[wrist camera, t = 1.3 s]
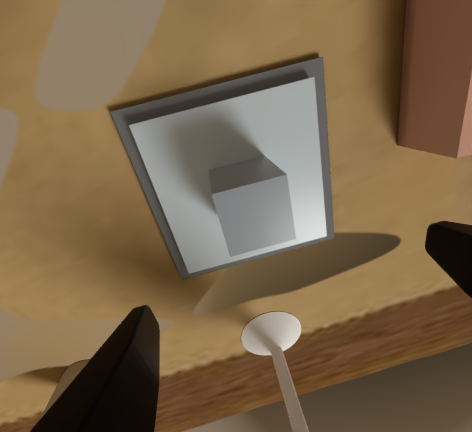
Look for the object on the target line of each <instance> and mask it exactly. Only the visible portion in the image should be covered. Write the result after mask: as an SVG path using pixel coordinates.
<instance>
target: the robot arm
mask: <svg viewBox="0 0 472 432" xmlns="http://www.w3.org/2000/svg"><path fill="white" fill-rule="evenodd" d="M425 249H426V251H427V253H428V254H429V255H430V256H431V257H432V258H433V259H434V260H435V261H436V263H437V264H438V265H439V266H440V267H441V268H442V269H443V270H444V271H445V272H446V273H447V274H448V275H449V276H450V277H451V278H452V279H453V280H454V281H455V282H456V283H457V285H458V286H459V287H460V288H461V289H462V290H463V291H464V292H465V293H466V294H468V295H469V296H470V297H471V298H472V225H467V224H461V223H454V222H448V221H440V222H437V223H433V224H431V225H429V227H428V229H427V235H426V242H425ZM159 331H160V330H159V324H158V322H157V320H156V318H155V316H154V314H153V312H152V311H151V309H150V307H149V306H148V305H143V306H140V307H136V308H134V309H133V310H132V311H131V312H130V313H129V314H128V315H127V317H126V318H125V319H124V320H123V321H122V322H121V324H120V325H119V326H118V327H117V328H116V330H115V331H114V332H113V333H112V334H111V336H110V337H109V338H108V339H107V341H106V342H105V343H104V344H103V345H102V346H101V347H100V349H99V350H98V351H97V352H96V353H95V355H94V356H93V357H92V358H91V359H90V361H89V362H88V363H87V364H86V365H85V366H84V368H83V369H82V370H81V371H80V372H79V374H78V375H77V376H76V377H75V378H74V380H73V381H72V382H71V383H70V384H69V386H68V387H67V388H66V389H65V390H64V391H63V393H62V394H61V395H60V396H59V397H58V399H57V400H56V401H55V402H54V403H53V405H52V406H51V407H50V408H49V409H48V411H47V412H46V413H45V414H44V415H43V416H42V418H41V419H40V420H39V421H38V422H37V424H36V425H35V426H34V427H33V428H32V430H31V431H30V432H154V429H155V420H156V411H157V401H158V392H159V352H160V332H159Z"/></svg>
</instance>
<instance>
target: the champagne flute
mask: <svg viewBox="0 0 472 432" xmlns="http://www.w3.org/2000/svg"><path fill="white" fill-rule="evenodd" d="M300 333H301V325H300V322H299V321H298V319H297V318H296V317H295V316H293V315H291V314H289V313H286V312H269V313H265V314H262V315H260V316H258V317H256V318H254V319H253V320H251V321H250V322H249V323H248V324H247V325H246V327H245V328H244V329H243V332H242V336H241V340H242V344H243V346H244V347H245V348H246V349H247V350H248V351H249V352H251V353H254V354H258V355H272V358H273V362H274V365H275V369H276V372H277V376H278V380H279V383H280V387H281V391H282V394H283V398H284V401H285V405H286V408H287V412H288V416H289V419H290V423H291V427H292V430H293V432H309V431H308V428H307V425H306V422H305V418H304V416H303V412H302V410H301V406H300V403H299V400H298V397H297V394H296V391H295V388H294V385H293V382H292V379H291V375H290V372H289V369H288V366H287V363H286V360H285V357H284V354H283V351H284V350H286V349H288V348H289V347H291V346H292V345H293V344H294V343H295V342H296V341H297V340H298V338H299V336H300Z"/></svg>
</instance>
